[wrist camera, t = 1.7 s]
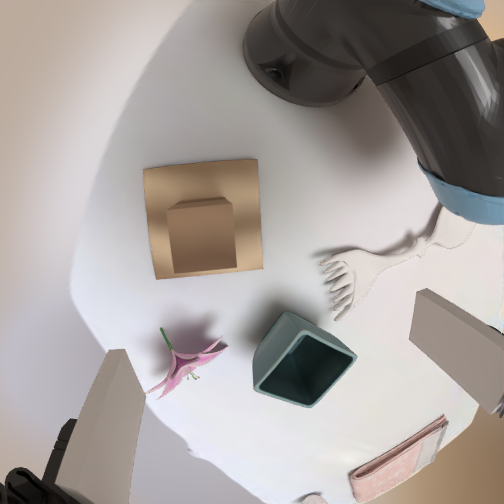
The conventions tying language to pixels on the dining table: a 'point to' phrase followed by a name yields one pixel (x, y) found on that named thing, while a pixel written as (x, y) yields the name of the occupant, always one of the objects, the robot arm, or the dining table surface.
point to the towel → (398, 462)
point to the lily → (184, 366)
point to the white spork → (388, 260)
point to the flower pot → (299, 361)
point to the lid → (204, 218)
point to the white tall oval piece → (314, 500)
